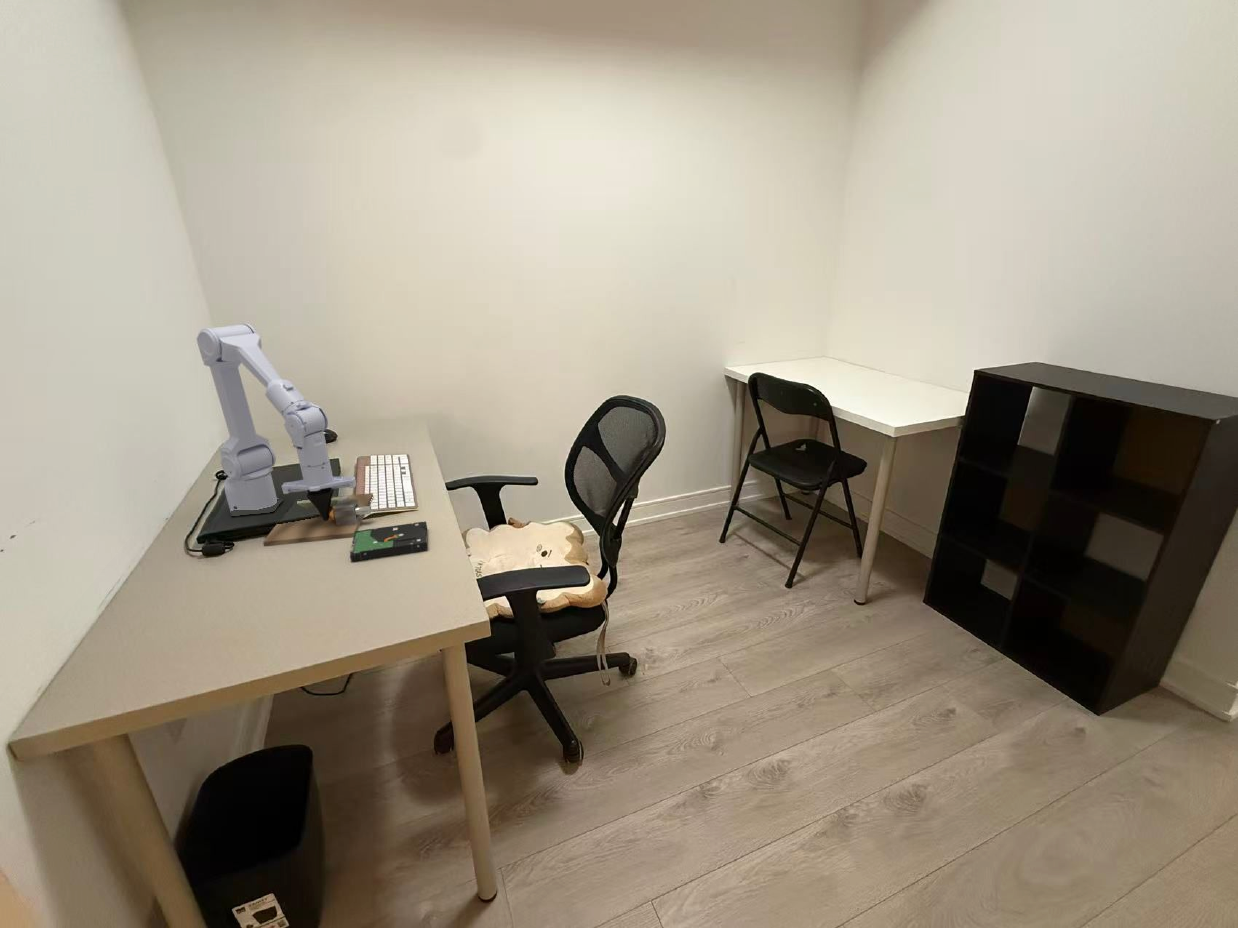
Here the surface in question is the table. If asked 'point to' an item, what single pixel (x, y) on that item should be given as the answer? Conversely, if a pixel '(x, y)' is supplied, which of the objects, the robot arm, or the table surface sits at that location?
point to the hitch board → (322, 524)
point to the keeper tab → (310, 505)
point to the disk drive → (389, 541)
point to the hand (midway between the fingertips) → (327, 518)
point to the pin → (357, 511)
